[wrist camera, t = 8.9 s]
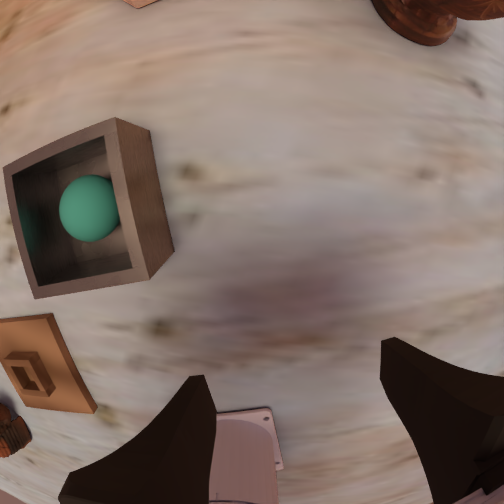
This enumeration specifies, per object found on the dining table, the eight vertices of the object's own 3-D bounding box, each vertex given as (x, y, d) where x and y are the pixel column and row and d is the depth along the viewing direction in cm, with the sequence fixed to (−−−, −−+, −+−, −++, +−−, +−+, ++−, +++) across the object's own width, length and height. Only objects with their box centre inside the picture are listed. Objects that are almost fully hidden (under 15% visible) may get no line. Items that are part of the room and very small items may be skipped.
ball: (136, 228, 19) (114, 240, 15) (85, 240, 19) (56, 254, 15) (124, 167, 18) (99, 165, 14) (73, 183, 18) (41, 185, 14)
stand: (97, 407, 23) (88, 424, 21) (30, 401, 23) (19, 414, 21) (52, 313, 21) (36, 326, 18) (-11, 320, 21) (-26, 331, 18)
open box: (174, 251, 20) (149, 279, 14) (76, 271, 20) (34, 299, 14) (149, 130, 18) (115, 116, 12) (51, 165, 18) (2, 167, 12)
